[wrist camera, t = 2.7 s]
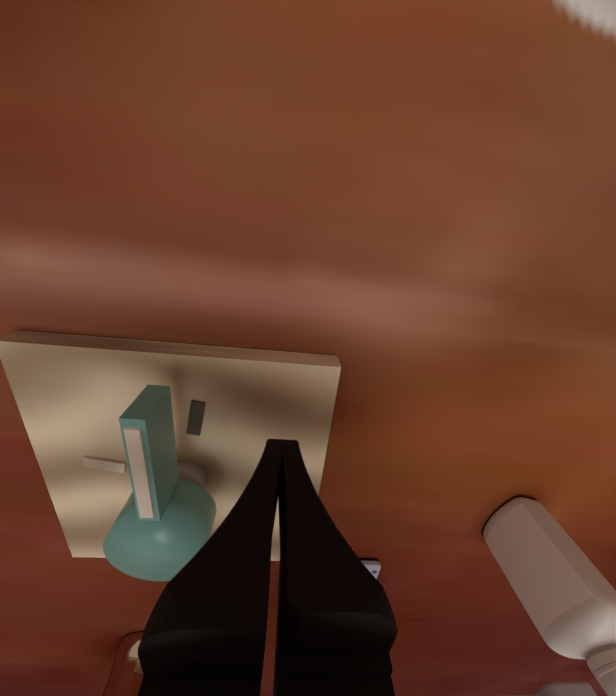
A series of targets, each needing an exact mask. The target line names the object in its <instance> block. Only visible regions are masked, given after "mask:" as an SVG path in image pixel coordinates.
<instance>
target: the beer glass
mask: <svg viewBox="0 0 616 696" xmlns="http://www.w3.org/2000/svg"><path fill="white" fill-rule="evenodd" d="M142 635H143V632H136V633H132V634H129V635H127V636H125V637H123V638H122V639H121V640H120V642H119V644H118V647H117V650H116V654H115V657H114V661H113V665H112V669H111V672H110V676H109V679H108V682H107V684H106V687H105V690H104V692H103V695H102V696H137V695H138V692H139V689H140V686H141V683H142V680H143V677H144V676H143V672H142V669H141V665H140V662H139V658H138V646H139V644H140V641H141V638H142Z"/></svg>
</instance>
